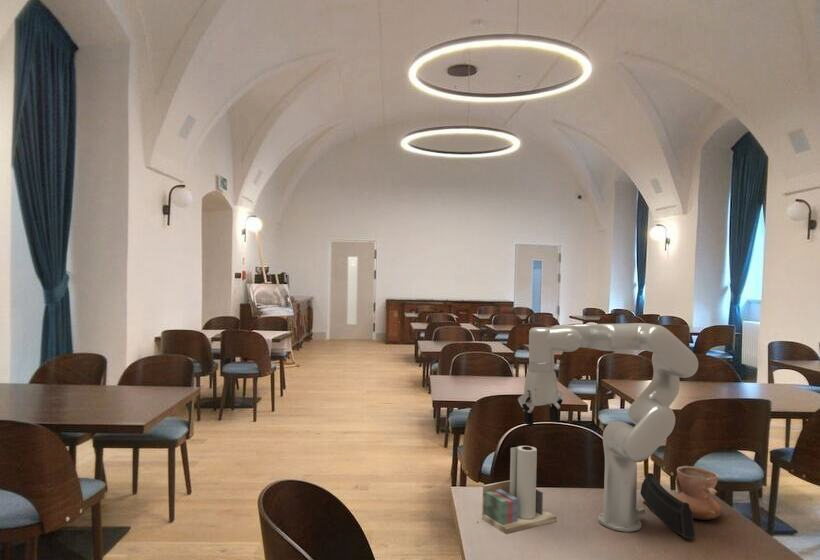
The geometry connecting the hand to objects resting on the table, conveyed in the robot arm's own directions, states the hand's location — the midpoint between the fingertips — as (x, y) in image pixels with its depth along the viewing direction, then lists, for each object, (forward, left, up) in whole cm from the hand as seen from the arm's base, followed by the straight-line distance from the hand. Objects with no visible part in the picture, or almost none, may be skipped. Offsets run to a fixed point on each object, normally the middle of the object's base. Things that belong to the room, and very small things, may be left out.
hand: (541, 422), depth 173 cm
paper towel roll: (+2, -5, -31) cm, 31 cm away
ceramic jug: (-53, +16, -32) cm, 64 cm away
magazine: (-40, +15, -32) cm, 53 cm away
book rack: (+3, -6, -32) cm, 32 cm away
